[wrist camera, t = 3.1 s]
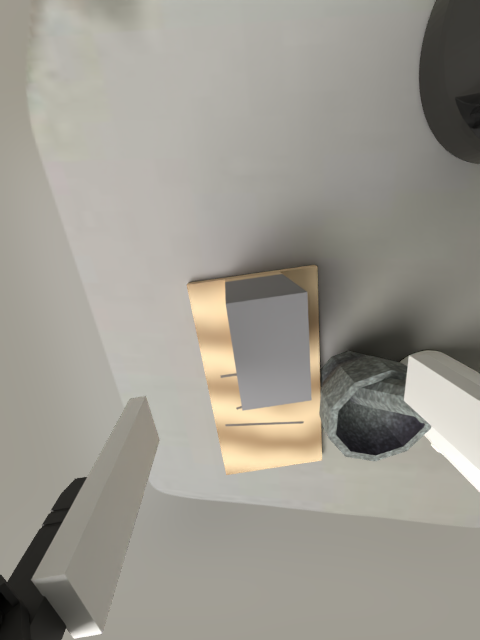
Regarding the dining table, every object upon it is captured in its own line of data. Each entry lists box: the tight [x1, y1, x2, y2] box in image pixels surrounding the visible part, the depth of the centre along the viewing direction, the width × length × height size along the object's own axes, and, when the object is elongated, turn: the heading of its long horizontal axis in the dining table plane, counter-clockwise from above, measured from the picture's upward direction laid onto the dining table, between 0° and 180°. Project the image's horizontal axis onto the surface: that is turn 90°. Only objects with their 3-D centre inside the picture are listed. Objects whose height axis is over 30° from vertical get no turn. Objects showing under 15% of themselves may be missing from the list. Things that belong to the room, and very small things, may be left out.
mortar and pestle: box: [319, 351, 431, 461], centre depth 22 cm, size 11×9×12 cm
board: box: [187, 265, 322, 475], centre depth 27 cm, size 24×12×1 cm, turn 8°
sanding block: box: [225, 272, 312, 411], centre depth 20 cm, size 8×5×8 cm, turn 8°
